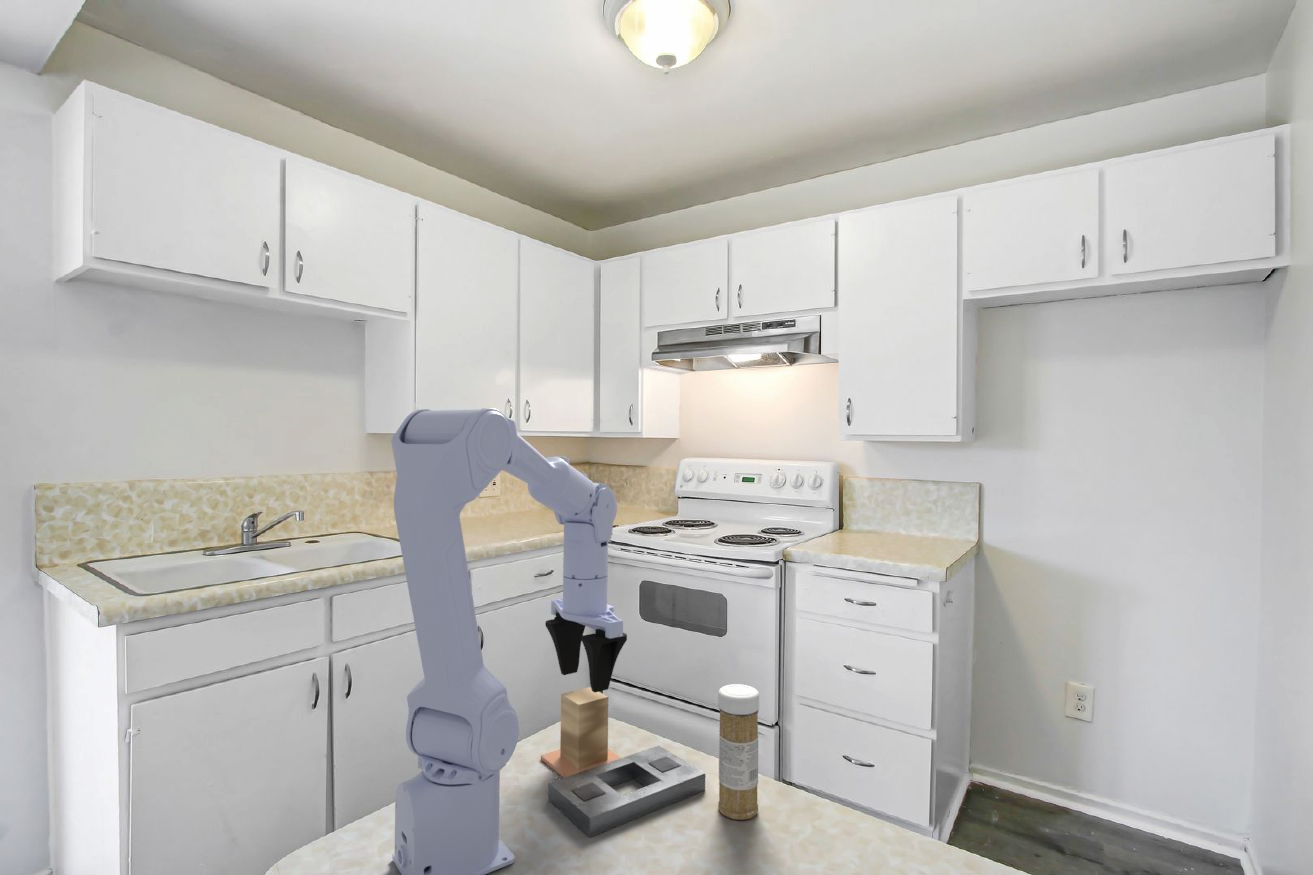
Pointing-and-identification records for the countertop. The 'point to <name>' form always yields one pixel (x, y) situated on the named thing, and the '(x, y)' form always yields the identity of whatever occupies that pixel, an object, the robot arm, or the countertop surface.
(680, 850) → the countertop surface
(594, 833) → the square hole bar
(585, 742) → the wooden peg
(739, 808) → the sprinkles bottle
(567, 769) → the tile
